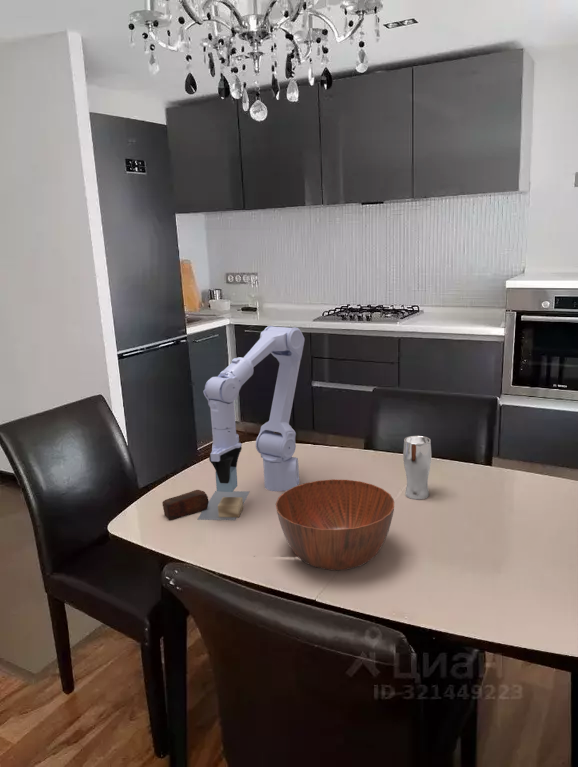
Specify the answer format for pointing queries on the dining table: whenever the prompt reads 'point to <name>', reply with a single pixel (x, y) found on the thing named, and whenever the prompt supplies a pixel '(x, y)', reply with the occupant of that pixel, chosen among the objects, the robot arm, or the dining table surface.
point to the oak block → (230, 507)
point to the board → (212, 508)
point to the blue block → (232, 482)
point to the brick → (185, 504)
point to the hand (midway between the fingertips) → (227, 479)
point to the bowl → (335, 522)
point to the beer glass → (417, 466)
